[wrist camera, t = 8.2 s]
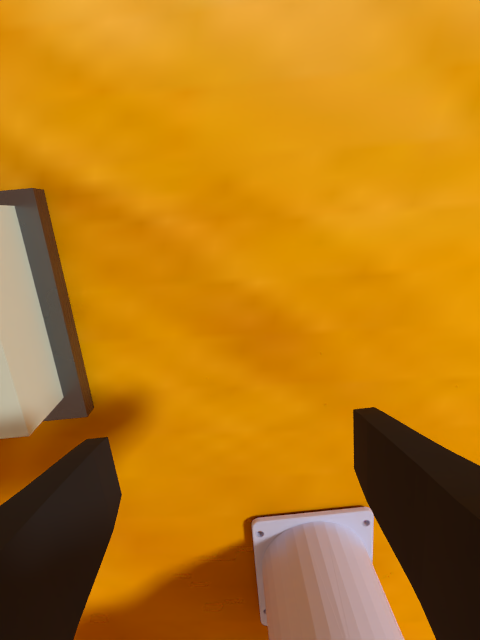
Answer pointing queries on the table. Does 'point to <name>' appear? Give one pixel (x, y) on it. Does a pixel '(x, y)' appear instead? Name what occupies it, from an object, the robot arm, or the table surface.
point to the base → (52, 300)
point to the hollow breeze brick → (22, 340)
